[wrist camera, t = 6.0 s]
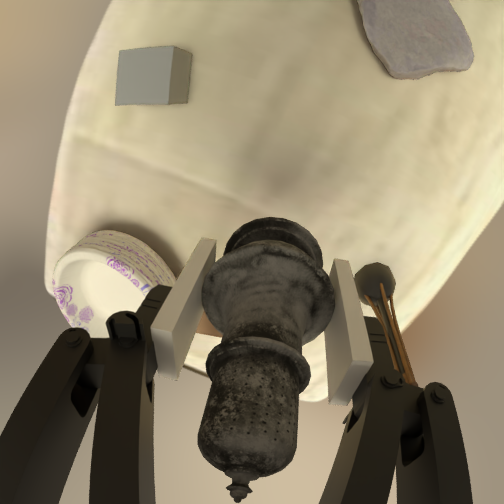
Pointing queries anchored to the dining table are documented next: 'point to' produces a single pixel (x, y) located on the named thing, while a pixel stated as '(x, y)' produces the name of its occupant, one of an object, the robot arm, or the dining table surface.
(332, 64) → the dining table surface
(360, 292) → the wooden tabletop sculpture
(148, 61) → the slate cube
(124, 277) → the paper bowls
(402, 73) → the stone block
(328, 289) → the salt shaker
